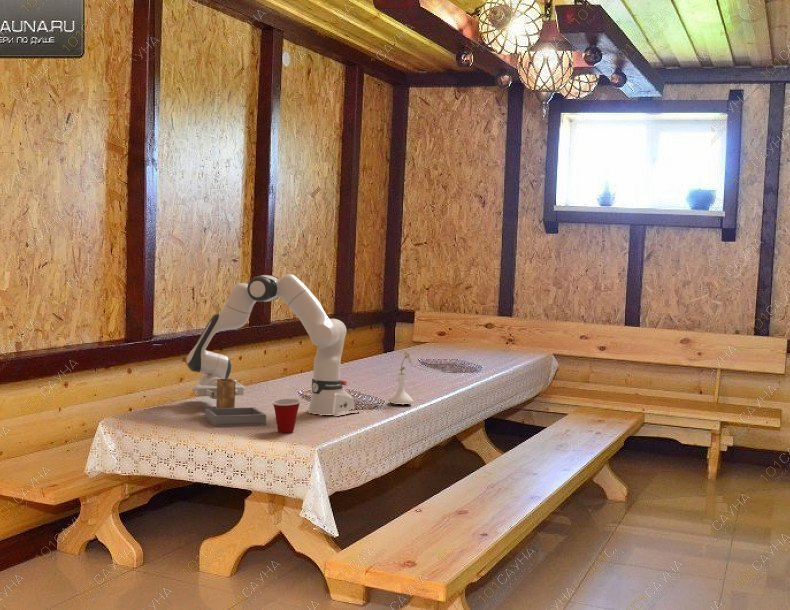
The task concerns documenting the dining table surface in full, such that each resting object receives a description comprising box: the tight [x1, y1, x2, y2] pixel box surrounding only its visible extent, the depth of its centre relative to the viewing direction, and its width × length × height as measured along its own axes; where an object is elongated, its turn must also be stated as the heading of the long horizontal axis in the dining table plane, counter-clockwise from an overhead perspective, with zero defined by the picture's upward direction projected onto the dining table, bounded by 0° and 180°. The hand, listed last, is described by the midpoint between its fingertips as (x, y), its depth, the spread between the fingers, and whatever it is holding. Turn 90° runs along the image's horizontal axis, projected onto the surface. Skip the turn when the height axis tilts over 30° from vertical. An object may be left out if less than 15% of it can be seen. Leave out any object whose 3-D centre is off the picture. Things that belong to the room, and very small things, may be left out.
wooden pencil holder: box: [215, 378, 237, 408], centre depth 418 cm, size 6×7×14 cm
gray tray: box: [204, 406, 267, 428], centre depth 405 cm, size 20×16×4 cm
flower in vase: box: [387, 347, 414, 403], centre depth 462 cm, size 13×11×25 cm
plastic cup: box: [271, 398, 301, 434], centre depth 390 cm, size 11×11×12 cm
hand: (224, 393), depth 421 cm, fingers open, 8 cm apart
